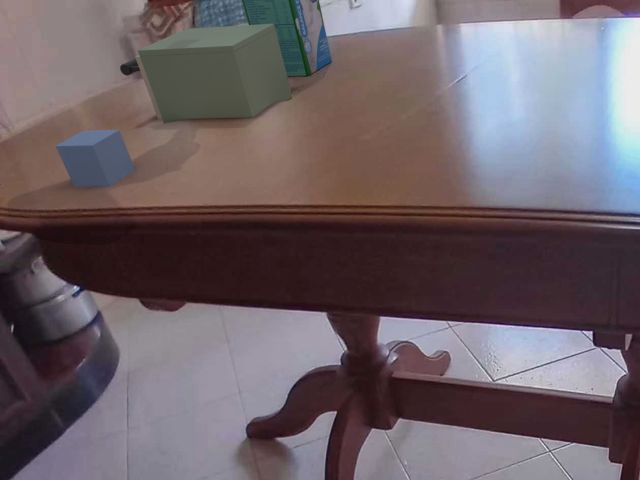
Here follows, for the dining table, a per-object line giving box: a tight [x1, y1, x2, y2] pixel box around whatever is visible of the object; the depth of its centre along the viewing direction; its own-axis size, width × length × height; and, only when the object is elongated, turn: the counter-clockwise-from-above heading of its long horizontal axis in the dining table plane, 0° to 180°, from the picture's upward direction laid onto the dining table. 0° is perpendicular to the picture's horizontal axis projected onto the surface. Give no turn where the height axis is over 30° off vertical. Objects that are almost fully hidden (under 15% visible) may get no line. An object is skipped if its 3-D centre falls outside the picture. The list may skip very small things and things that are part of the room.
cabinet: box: [137, 24, 293, 124], centre depth 103 cm, size 15×13×11 cm
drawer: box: [119, 54, 163, 120], centre depth 104 cm, size 18×11×9 cm, turn 78°
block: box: [55, 129, 136, 187], centre depth 83 cm, size 5×5×6 cm
